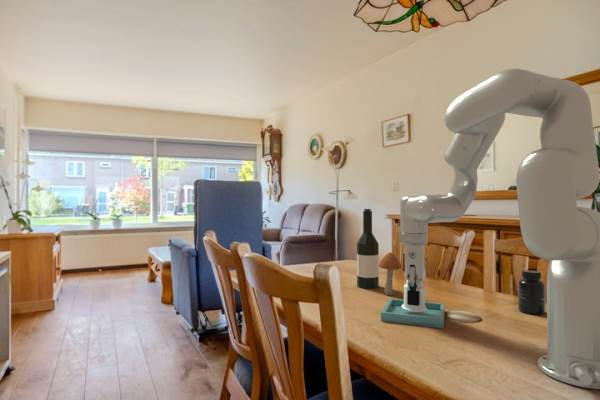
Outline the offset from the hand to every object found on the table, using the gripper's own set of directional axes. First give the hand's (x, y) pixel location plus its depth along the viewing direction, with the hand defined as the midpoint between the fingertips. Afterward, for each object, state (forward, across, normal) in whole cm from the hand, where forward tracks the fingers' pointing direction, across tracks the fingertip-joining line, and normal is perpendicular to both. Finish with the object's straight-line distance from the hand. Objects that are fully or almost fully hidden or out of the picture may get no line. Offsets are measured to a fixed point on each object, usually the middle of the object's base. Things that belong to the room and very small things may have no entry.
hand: (414, 301), depth 106 cm
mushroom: (+4, +22, +10) cm, 25 cm away
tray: (+4, 0, 0) cm, 4 cm away
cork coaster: (+4, +4, -13) cm, 14 cm away
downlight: (+2, 0, 0) cm, 2 cm away
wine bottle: (+4, +32, +20) cm, 38 cm away
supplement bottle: (+4, +17, -32) cm, 36 cm away
